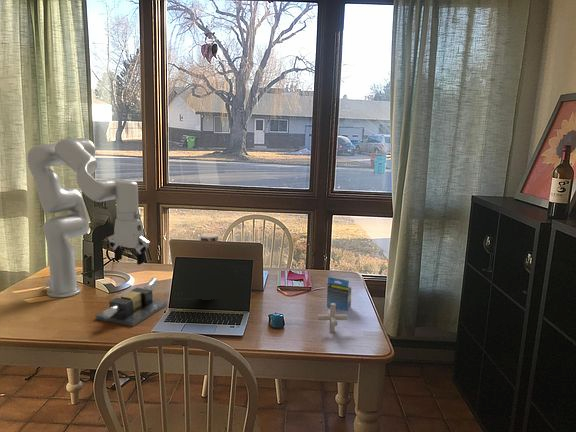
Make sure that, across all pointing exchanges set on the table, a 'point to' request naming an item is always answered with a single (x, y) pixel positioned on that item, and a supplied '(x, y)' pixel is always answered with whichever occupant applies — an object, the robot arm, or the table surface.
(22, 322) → the table surface
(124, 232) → the robot arm
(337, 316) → the pipe connector
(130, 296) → the cream rectangular block
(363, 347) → the table surface
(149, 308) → the shaft bench
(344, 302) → the label tape box
